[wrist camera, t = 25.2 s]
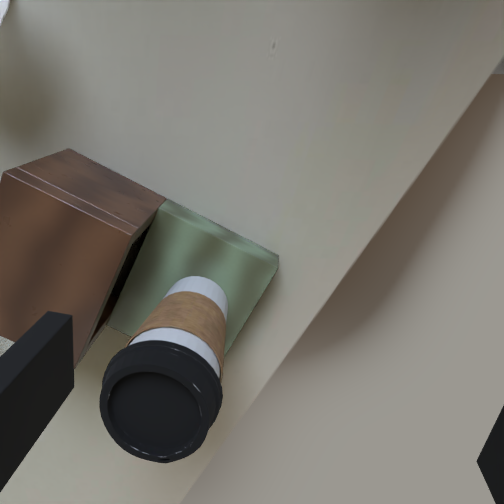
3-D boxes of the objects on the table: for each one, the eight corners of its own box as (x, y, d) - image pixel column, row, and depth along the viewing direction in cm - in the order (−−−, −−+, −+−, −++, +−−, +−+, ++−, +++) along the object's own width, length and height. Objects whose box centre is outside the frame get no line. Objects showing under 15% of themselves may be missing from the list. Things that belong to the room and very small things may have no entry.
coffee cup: (164, 343, 44) (107, 468, 30) (146, 267, 41) (72, 368, 27) (247, 337, 43) (226, 464, 29) (234, 259, 40) (204, 360, 26)
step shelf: (278, 255, 43) (275, 306, 33) (217, 357, 48) (200, 426, 39) (68, 147, 40) (2, 171, 31) (28, 268, 45) (-38, 318, 36)
